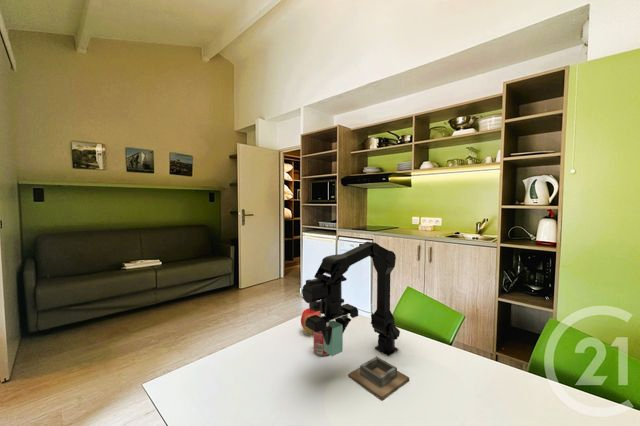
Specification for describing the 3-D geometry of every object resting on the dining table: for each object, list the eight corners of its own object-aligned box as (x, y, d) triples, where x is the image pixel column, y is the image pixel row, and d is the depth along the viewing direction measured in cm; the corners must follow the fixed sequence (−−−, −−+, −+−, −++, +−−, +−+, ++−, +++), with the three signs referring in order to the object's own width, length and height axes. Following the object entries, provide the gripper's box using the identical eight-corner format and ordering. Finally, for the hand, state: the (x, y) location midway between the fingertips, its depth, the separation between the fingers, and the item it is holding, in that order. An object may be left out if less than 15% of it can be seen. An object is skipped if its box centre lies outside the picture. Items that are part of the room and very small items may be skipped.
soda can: (330, 357, 103) (330, 323, 102) (311, 355, 104) (311, 322, 103) (333, 347, 110) (333, 315, 109) (315, 345, 111) (315, 314, 110)
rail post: (333, 345, 94) (333, 320, 94) (342, 351, 91) (342, 324, 90) (323, 350, 92) (323, 324, 91) (332, 356, 88) (332, 329, 87)
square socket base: (375, 360, 101) (375, 350, 100) (409, 380, 90) (409, 368, 90) (348, 376, 92) (348, 365, 92) (381, 400, 81) (382, 387, 81)
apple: (296, 332, 123) (296, 310, 122) (312, 325, 129) (312, 304, 129) (310, 340, 116) (310, 316, 115) (326, 332, 122) (326, 310, 122)
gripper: (337, 283, 102) (337, 324, 103) (295, 295, 90) (295, 341, 91) (359, 291, 94) (359, 336, 94) (316, 305, 82) (316, 356, 83)
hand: (333, 341), depth 91 cm, fingers closed on rail post, 4 cm apart
